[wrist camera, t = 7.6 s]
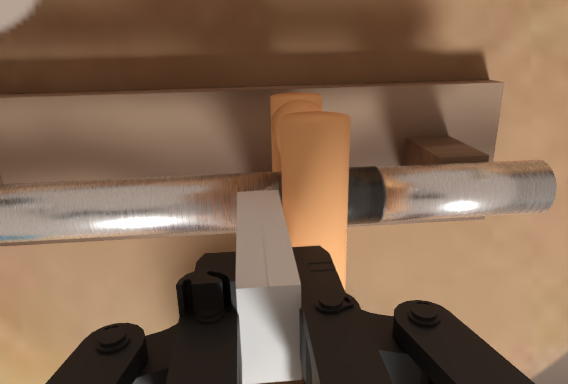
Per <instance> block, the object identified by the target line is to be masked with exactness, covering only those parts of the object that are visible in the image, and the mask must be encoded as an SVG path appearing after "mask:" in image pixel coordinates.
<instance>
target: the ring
mask: <svg viewBox="0 0 568 384" xmlns="http://www.w3.org/2000/svg"><path fill="white" fill-rule="evenodd" d="M270 109H271V143H272V172H279V171H281V174H282V208H283V212H284V216H285V220H286V224H287V229H288V233H289V237H290V241H291V245H292V247H301V246H318V245H320V246H321V247H322V248H324V249H325V250H326V251H328V252H329V253H330V256H331V258H332V260H333V263H334V265H335V268H336V271H337V273H338V275H339V278H340V280H341V283H342V285H343V288H344V290H345V280H346V248H347V216H348V184H349V152H350V120H351V117H350V116H349V115H347V114H343V113H337V112H326V111H322V95H321V94H317V93H300V92H299V93H280V94H274V95H271V96H270Z"/></svg>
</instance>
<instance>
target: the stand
mask: <svg viewBox="0 0 568 384" xmlns="http://www.w3.org/2000/svg"><path fill="white" fill-rule="evenodd" d="M503 88H504V82H499V81H494V80H466V81H432V82H399V83H365V84H332V85H299V86H265V87H232V88H199V89H165V90H132V91H99V92H65V93H32V94H0V184H14V183H36V182H58V181H80V180H102V179H124V178H146V177H169V176H191V175H213V174H235V173H257V172H272V143H271V109H270V96H271V95H274V94H280V93H299V92H300V93H317V94H321V95H322V111H326V112H337V113H343V114H347V115H349V116H350V117H351V120H350V152H349V167H364V166H376V167H389V166H411V165H433V164H455V163H478V162H493V158H494V151H495V144H496V137H497V130H498V123H499V116H500V109H501V102H502V95H503ZM480 219H485V216H477V217H459V218H441V219H423V220H404V221H386V222H379V223H371V224H353V225H347V227H354V226H372V225H390V224H408V223H426V222H444V221H462V220H480ZM229 233H236V230H224V231H206V232H188V233H170V234H152V235H133V236H115V237H97V238H79V239H61V240H43V241H25V242H7V243H0V246H15V245H33V244H50V243H68V242H86V241H104V240H122V239H140V238H158V237H176V236H193V235H211V234H229Z"/></svg>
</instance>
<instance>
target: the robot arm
mask: <svg viewBox="0 0 568 384" xmlns="http://www.w3.org/2000/svg"><path fill="white" fill-rule="evenodd" d="M176 289H177V298H178V306H179V315H180V318H179V322H178V323H177V324H176V325H174V326H172V327H170V328H169V329H166V330H163V331H161V332H158V333H154V334H151V335H147V336H145V334H144V330H143V329H142V328H140V327H139V326H138V325H135V324H130V323H116V324H112V325H108V326H104V327H102V328H100V329H98V330H96V331H94V332H92V333H91V334H90V335H89V336H88V337H86V338H85V339H84V340H83V341H82V342H81V344H80V345H79V346H78V347H77V348H76V349H75V350H74V352H73V353H72V354H71V355H70V356H69V357H68V358H67V360H66V361H65V362H64V363H63V364H62V365H61V367H60V368H59V369H58V370H57V371H56V372H55V373H54V375H53V376H52V377H51V378H50V379H49V380H48V381H47V383H46V384H258V383H270V382H282V381H294V380H302V372H303V377H304V384H535V383H534V382H532V381H531V380H530V379H529V378H528V377H527V376H525V375H524V374H523V373H522V372H521V371H519V370H518V369H517V368H516V367H515V366H513V365H512V364H511V363H510V362H509V361H508V360H506V359H505V358H504V357H503V356H502V355H500V354H499V353H498V352H497V351H496V350H495V349H493V348H492V347H491V346H490V345H489V344H487V343H486V342H485V341H484V340H483V339H481V338H480V337H479V336H478V335H477V334H476V333H474V332H473V331H472V330H471V329H470V328H468V327H467V326H466V325H465V324H464V323H462V322H461V321H460V320H459V319H458V318H457V317H455V316H454V315H453V314H452V313H451V312H449V311H448V310H447V309H445V308H443V307H442V306H440V305H438V304H435V303H432V302H429V301H422V300H413V301H406V302H404V303H401V304H399V305H398V306H397V307H396V308H395V309H394V316H387V315H379V314H374V313H369V312H366V311H364V310H361V308H360V306H359V304H358V302H357V301H356V300H355V298H354V297H352V296H350V295H348V294H347V293H346V292H345V290H344V288H343V285H342V283H341V280H340V278H339V275H338V273H337V271H336V268H335V265H334V263H333V260H332V258H331V256H330V253H329V252H328V251H326V250H325V249H324V248H322V247H321V246H320V245H318V246H301V247H292V245H291V241H290V237H289V233H288V229H287V224H286V220H285V216H284V212H283V208H282V204H281V200H280V196H279V191H278V190H267V191H247V192H237V230H236V252H223V253H206V254H204V255H203V256H202V257H201V258H200V259H199V260H198V261H197V262H196V268H195V271H194V272H191V273H189V274H187V275H185V276H184V277H182V278H181V279H180V280H179V281H178V283H177V285H176Z"/></svg>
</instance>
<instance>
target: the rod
mask: <svg viewBox="0 0 568 384" xmlns="http://www.w3.org/2000/svg"><path fill="white" fill-rule="evenodd" d="M267 190H278V191H279V196H280V200H281V204H282V174H281V171H279V172H257V173H235V174H213V175H191V176H169V177H146V178H124V179H102V180H80V181H58V182H36V183H14V184H0V243H7V242H25V241H43V240H61V239H79V238H97V237H115V236H133V235H152V234H170V233H188V232H206V231H224V230H237V192H247V191H267ZM555 196H556V180H555V176H554V173H553V171H552V169H551V168H550V166H549V165H548V164H547V163H546V162H544V161H542V160H522V161H500V162H478V163H455V164H433V165H411V166H389V167H376V166H364V167H349V184H348V216H347V225H353V224H371V223H379V222H386V221H404V220H423V219H441V218H459V217H477V216H495V215H513V214H531V213H543V212H546V211H547V210H548V209H549V208H550V207H551V206H552V204H553V202H554V200H555Z"/></svg>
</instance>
